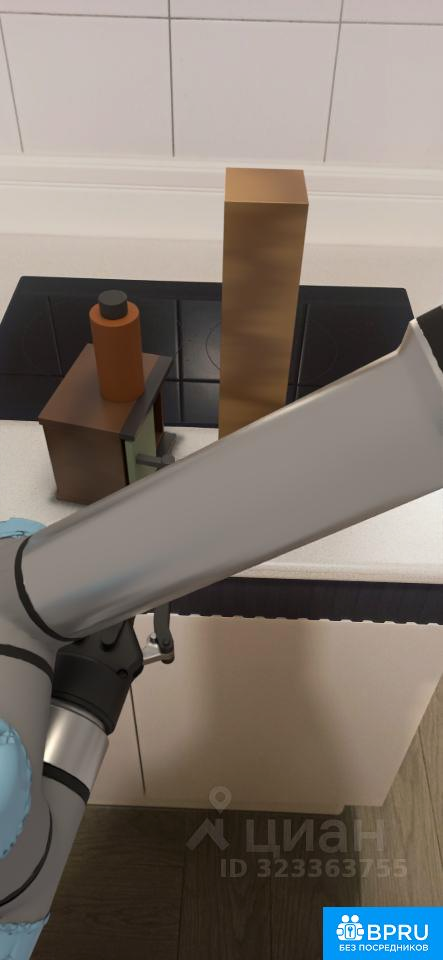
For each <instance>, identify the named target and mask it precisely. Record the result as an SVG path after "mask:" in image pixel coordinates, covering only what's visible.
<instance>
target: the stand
mask: <svg viewBox="0 0 443 960" xmlns="http://www.w3.org/2000/svg"><path fill="white" fill-rule="evenodd" d="M223 195H224V196H223V197H224V199H223V230H222V231H223V232H222V233H223V234H222V235H223V237H222V238H223V239H222V275H221V310H220V311H221V312H220V313H221V314H220V351H219V352H220V354H219V356H220V357H219V393H218V398H219V400H218V432H217V433H218V435H217V436H218V437H217V440H219V439H221V438H223V437H225V436H227V435H229V434H231V433H233V432H235V431H237V430H239V429H241V428H243V427H245V426H247V425H249V424H251V423H253V422H255V421H257V420H259V419H261V418H263V417H265V416H267V415H269V414H271V413H273V412H275V411H277V410H279V409H281V408H283V407H285V406H286V401H287V392H288V385H289V378H290V377H289V375H290V370H291V369H290V367H291V359H292V352H293V351H292V350H293V342H294V336H295V335H294V333H295V327H296V325H295V324H296V317H297V309H298V299H299V294H300V293H299V292H300V282H301V275H302V267H303V259H304V251H305V250H304V249H305V240H306V232H307V226H308V225H307V223H308V217H309V216H308V215H309V209H310V201H309V195H308V189H307V183H306V177H305V170H304V169H293V168H289V169H288V168H260V167H259V168H257V167H225V171H224V193H223Z"/></svg>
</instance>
